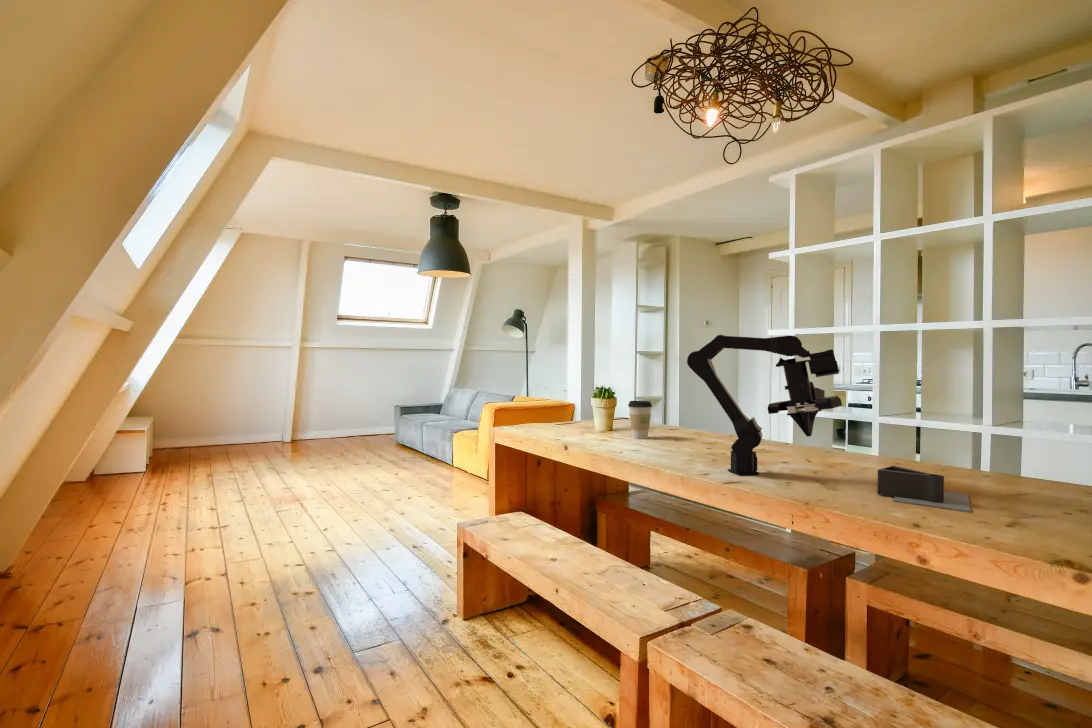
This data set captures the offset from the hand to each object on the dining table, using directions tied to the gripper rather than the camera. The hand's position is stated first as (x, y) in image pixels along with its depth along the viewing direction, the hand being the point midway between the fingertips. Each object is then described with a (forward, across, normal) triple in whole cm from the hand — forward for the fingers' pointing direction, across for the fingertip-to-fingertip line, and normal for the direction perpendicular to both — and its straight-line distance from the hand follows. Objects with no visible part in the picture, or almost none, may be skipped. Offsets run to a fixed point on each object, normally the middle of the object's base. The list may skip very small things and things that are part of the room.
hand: (809, 436), depth 145 cm
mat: (+17, -24, -5) cm, 30 cm away
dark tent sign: (+12, -16, -1) cm, 20 cm away
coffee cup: (0, +80, -10) cm, 80 cm away
